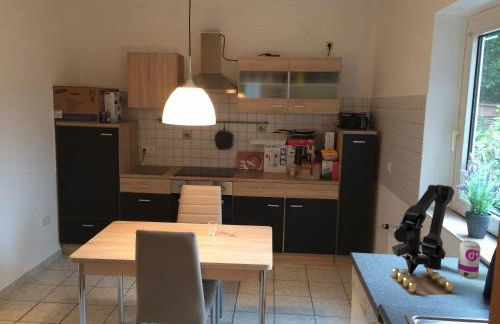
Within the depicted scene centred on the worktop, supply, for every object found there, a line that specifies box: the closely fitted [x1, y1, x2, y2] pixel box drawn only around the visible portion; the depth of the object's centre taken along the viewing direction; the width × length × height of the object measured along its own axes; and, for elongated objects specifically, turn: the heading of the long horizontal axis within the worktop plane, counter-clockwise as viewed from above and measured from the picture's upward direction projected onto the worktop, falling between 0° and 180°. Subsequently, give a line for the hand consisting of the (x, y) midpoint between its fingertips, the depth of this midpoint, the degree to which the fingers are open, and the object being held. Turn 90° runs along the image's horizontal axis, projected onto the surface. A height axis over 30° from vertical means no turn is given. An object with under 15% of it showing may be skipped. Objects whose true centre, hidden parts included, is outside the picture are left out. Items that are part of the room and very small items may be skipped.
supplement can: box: [457, 239, 481, 279], centre depth 183 cm, size 8×8×15 cm
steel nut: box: [398, 268, 414, 276], centre depth 182 cm, size 5×6×2 cm
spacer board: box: [388, 274, 457, 296], centre depth 170 cm, size 19×20×1 cm
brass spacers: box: [391, 267, 454, 295], centre depth 169 cm, size 18×18×4 cm
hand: (410, 273), depth 178 cm, fingers closed
